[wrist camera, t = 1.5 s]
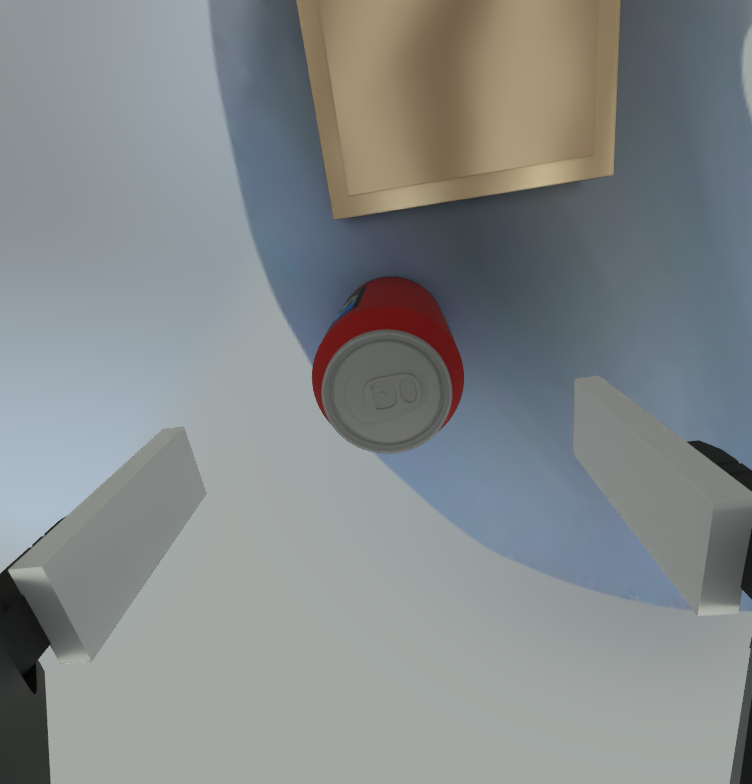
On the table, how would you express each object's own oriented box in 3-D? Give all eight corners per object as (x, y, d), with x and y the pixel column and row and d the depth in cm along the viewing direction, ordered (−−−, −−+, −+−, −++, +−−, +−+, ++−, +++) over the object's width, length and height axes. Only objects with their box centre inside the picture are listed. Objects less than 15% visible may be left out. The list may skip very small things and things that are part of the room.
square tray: (588, -152, 20) (633, -241, 16) (582, 180, 25) (615, 174, 22) (293, -84, 22) (269, -150, 18) (342, 218, 27) (333, 219, 23)
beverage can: (328, 287, 28) (283, 333, 17) (433, 264, 28) (456, 296, 16) (353, 383, 31) (327, 479, 20) (450, 365, 30) (481, 454, 19)
